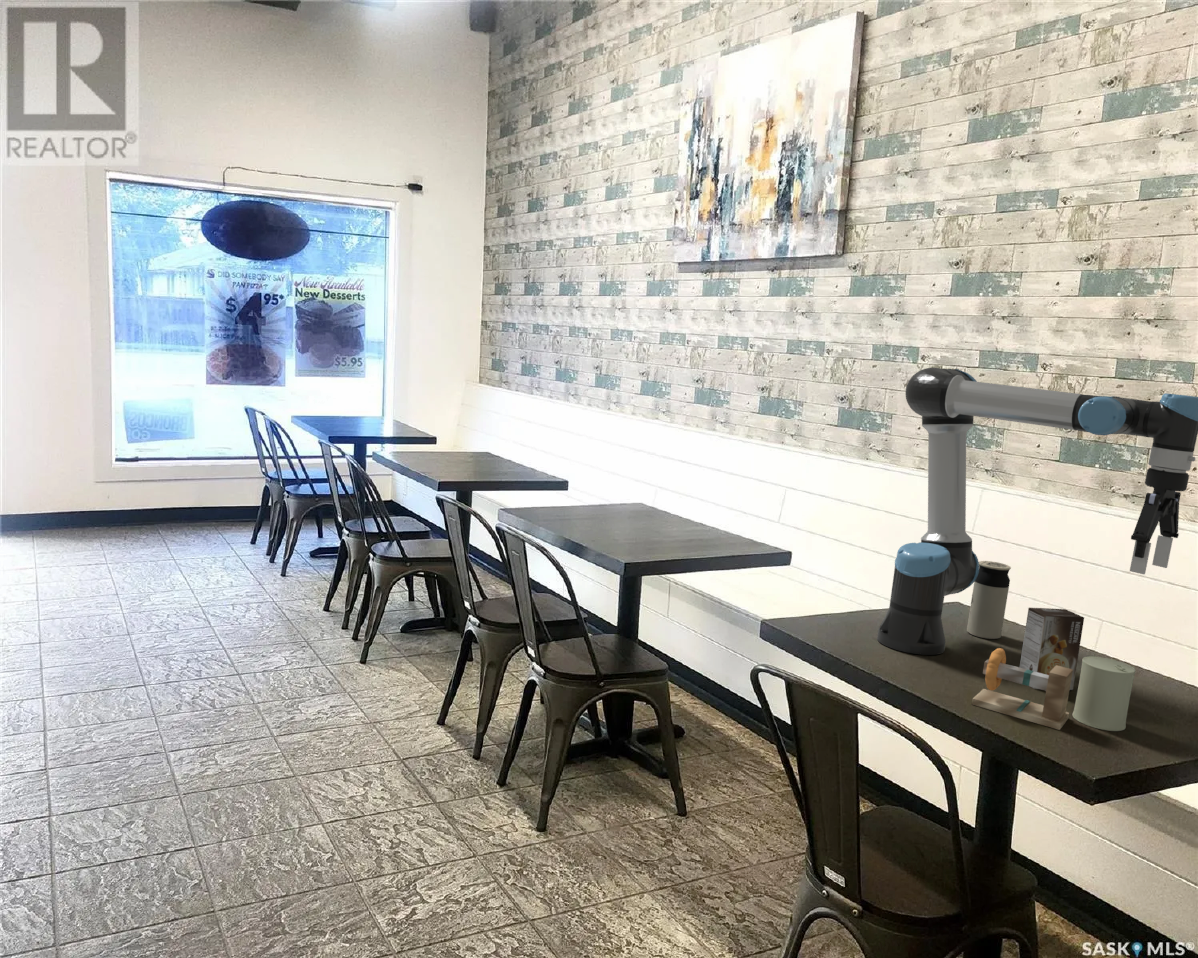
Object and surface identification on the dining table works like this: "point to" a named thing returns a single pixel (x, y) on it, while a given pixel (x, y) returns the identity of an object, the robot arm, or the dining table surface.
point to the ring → (994, 668)
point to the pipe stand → (1044, 714)
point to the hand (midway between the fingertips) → (1148, 569)
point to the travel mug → (989, 600)
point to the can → (1104, 693)
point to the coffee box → (1051, 640)
